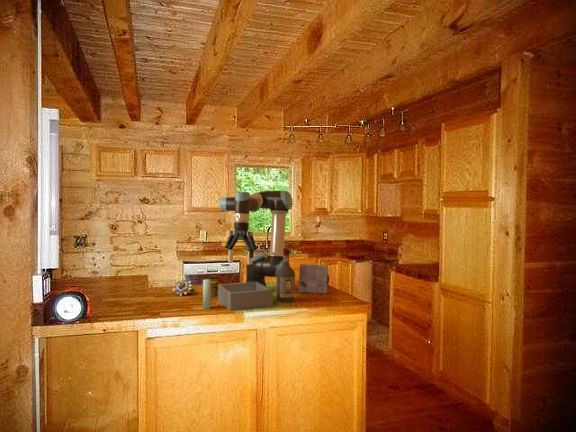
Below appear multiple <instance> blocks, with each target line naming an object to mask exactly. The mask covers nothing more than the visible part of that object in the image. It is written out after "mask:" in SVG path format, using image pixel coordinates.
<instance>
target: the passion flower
mask: <svg viewBox="0 0 576 432" xmlns="http://www.w3.org/2000/svg"><path fill="white" fill-rule="evenodd" d="M191 283H192V281H191V280H188V281H187V280H186V278H185V277H183V279H181V280H178V281H176V283H175V286H174V288H172V289H171V291H172V292H175V291H176V295H177V296H178V295H179V297H182V296H183V294H184V295H187V293H188V291H190V293H191V295H193V296H194V295H195V293H196V290H195V286H194V283H192V284H191Z"/></svg>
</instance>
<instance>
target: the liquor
mask: <svg viewBox="0 0 576 432" xmlns="http://www.w3.org/2000/svg"><path fill="white" fill-rule="evenodd" d="M295 289H296V273H295V271H294V270H293V268H292V267H291V266H290V248H284V249H283V266H282V267H281V268H280V269H279V270H278V272H277V278H276V300H277V301H278V302H279V301H280V302H279V303H284V302H285V303H293V302H295V301H296V299H295V298H296V297H295V294H296V293H295V292H296V290H295ZM292 301H293V302H292Z"/></svg>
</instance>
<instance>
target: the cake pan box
mask: <svg viewBox="0 0 576 432" xmlns="http://www.w3.org/2000/svg"><path fill="white" fill-rule="evenodd" d="M298 275H299V276H298V292H299V293H307V292H308V293H310V294H327V293H328V285H329V281H330V277H329V265H322V264H305V263H301V264H299V273H298Z"/></svg>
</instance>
